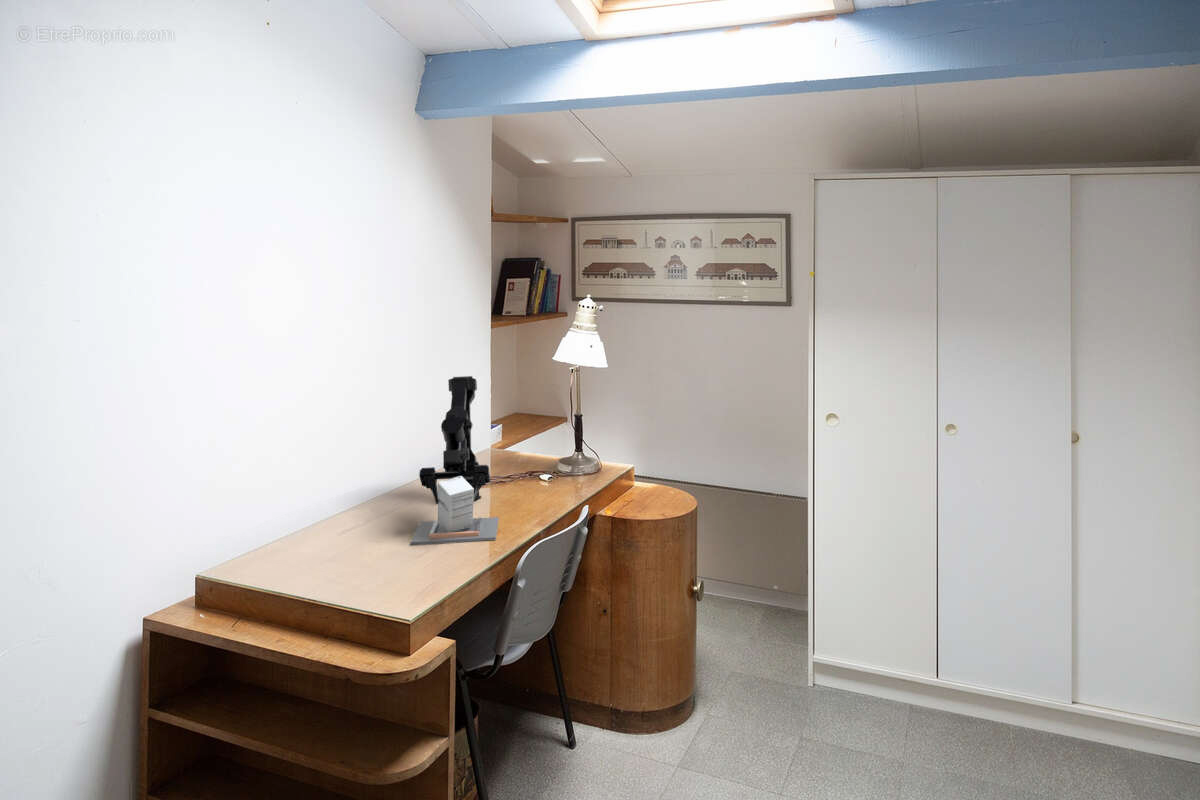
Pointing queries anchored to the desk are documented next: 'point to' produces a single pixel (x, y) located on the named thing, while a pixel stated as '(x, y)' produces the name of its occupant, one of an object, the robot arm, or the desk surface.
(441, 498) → the supplement box
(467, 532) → the rail stand
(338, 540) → the desk surface
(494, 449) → the desk surface
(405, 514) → the desk surface
